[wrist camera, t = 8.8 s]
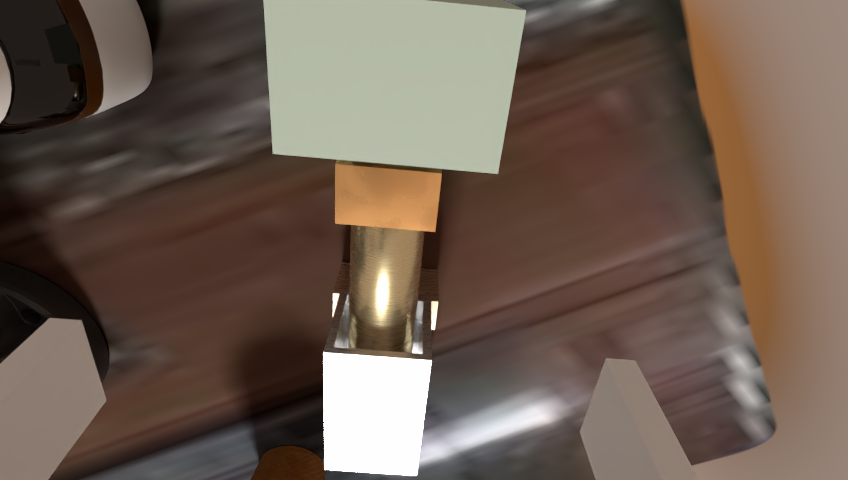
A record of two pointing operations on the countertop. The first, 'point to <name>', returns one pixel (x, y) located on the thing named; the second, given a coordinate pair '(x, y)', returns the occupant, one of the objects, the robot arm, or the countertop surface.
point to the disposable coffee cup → (289, 465)
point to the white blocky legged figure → (376, 390)
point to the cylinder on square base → (385, 247)
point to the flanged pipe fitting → (69, 60)
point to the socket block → (392, 80)
